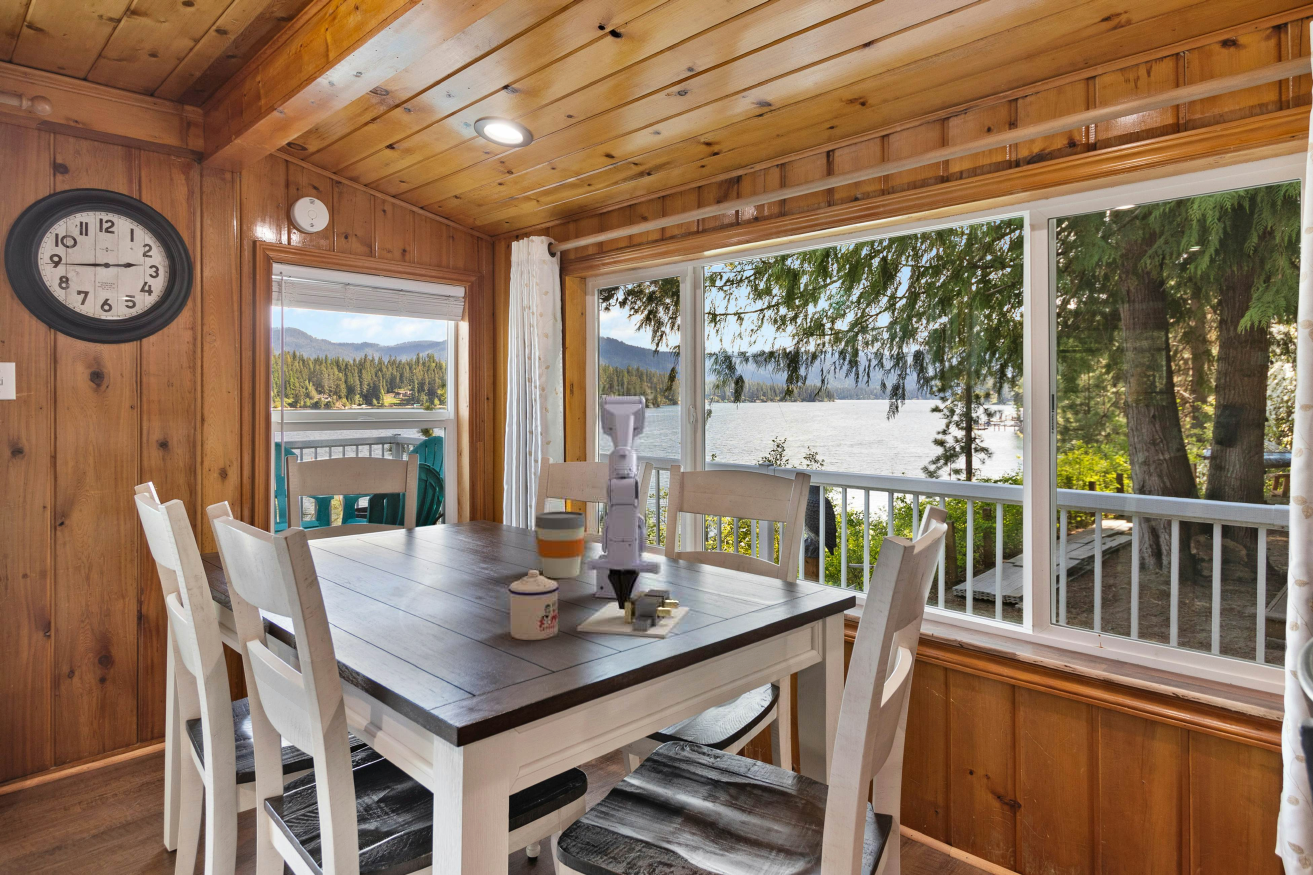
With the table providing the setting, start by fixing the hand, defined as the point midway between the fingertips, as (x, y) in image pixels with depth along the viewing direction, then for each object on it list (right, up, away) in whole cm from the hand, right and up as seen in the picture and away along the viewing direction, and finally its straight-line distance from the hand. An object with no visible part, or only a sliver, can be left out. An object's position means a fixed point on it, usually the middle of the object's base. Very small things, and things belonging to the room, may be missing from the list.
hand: (623, 608), depth 147 cm
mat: (+2, -2, -1) cm, 3 cm away
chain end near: (+4, -2, -6) cm, 8 cm away
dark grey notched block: (+7, -1, +3) cm, 8 cm away
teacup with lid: (-16, -3, -8) cm, 18 cm away
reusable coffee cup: (-18, -1, +41) cm, 44 cm away
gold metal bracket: (+6, -1, -2) cm, 6 cm away
